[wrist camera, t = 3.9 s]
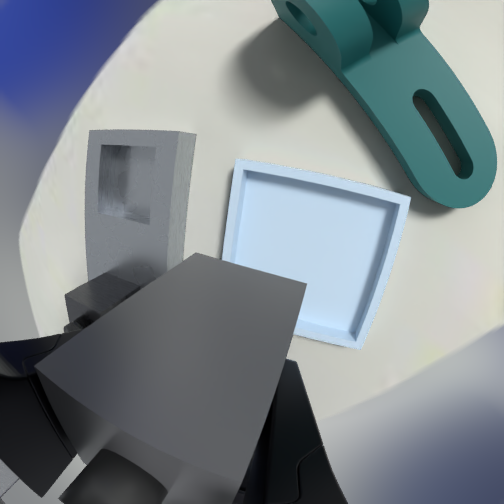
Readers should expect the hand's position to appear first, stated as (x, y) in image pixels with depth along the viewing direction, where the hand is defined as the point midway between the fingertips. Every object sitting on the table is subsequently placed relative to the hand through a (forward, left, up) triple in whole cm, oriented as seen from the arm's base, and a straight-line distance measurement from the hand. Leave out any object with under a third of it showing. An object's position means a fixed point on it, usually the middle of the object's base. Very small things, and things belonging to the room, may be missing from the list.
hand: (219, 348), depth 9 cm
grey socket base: (-2, +12, -12) cm, 18 cm away
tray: (0, -2, -12) cm, 13 cm away
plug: (0, 0, -2) cm, 2 cm away
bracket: (+13, -6, -13) cm, 19 cm away
